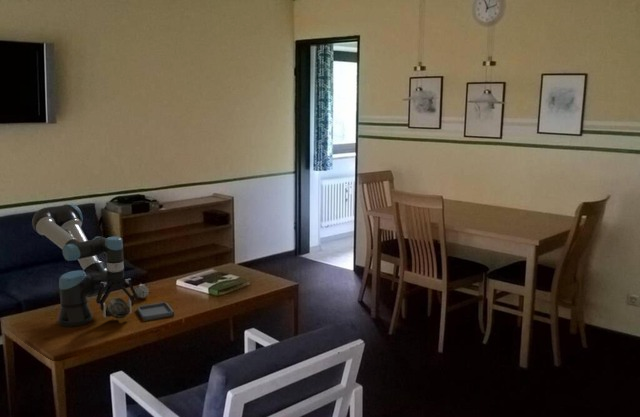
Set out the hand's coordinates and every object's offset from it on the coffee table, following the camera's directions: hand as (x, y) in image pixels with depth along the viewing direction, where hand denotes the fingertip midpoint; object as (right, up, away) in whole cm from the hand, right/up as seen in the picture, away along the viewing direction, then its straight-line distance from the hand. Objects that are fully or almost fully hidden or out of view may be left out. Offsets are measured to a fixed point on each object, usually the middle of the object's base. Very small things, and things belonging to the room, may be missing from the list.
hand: (117, 314), depth 287 cm
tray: (+15, -1, +11) cm, 19 cm away
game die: (+2, +3, +32) cm, 33 cm away
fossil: (0, -1, 0) cm, 1 cm away
